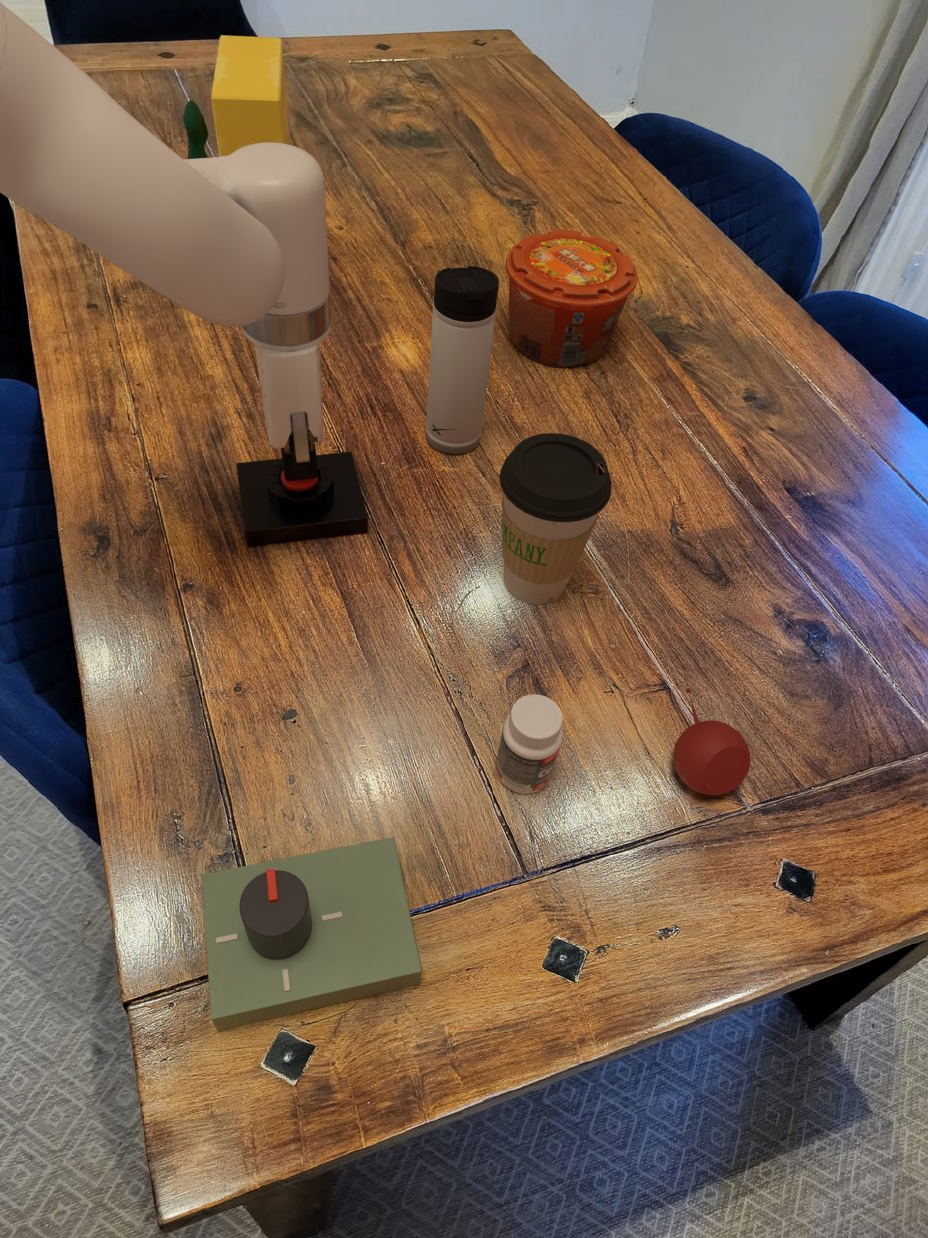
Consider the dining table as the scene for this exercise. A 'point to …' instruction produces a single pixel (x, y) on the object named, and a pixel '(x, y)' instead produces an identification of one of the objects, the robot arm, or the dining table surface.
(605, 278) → the food container
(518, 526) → the coffee cup
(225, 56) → the toys
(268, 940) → the knob
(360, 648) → the dining table surface
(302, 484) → the button
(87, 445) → the dining table surface
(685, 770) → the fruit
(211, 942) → the panel
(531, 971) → the dining table surface
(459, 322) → the travel mug
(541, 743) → the pill bottle
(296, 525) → the switch block
